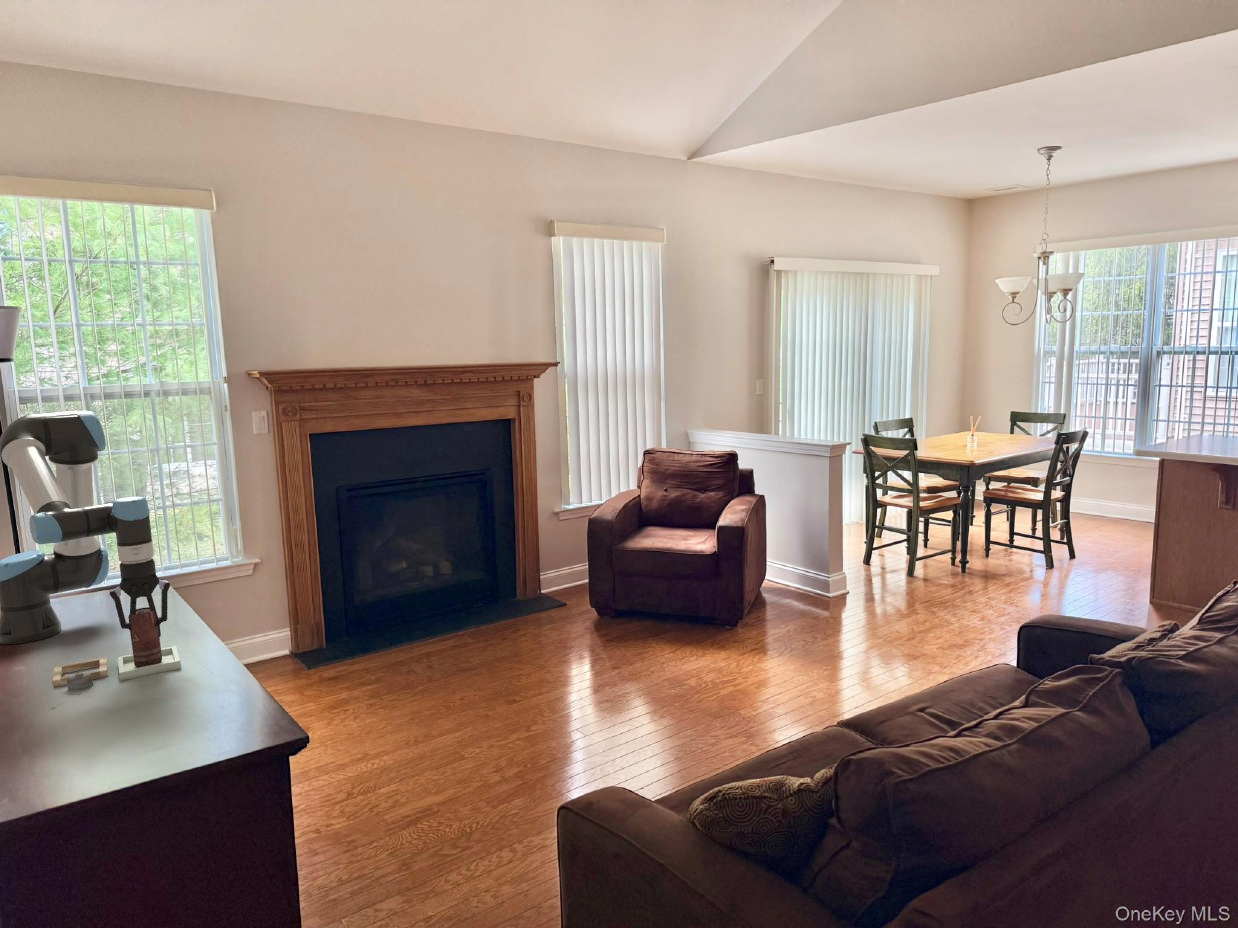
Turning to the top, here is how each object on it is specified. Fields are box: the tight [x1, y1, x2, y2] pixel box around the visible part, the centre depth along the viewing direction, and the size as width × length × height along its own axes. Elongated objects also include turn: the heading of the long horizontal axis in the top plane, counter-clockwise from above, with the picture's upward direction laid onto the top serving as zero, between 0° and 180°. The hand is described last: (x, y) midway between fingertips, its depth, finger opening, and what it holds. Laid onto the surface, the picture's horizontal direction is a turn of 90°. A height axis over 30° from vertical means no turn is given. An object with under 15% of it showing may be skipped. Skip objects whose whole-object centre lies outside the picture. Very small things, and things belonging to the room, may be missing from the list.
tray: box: [117, 645, 182, 681], centre depth 210 cm, size 13×13×2 cm
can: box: [127, 606, 162, 668], centre depth 209 cm, size 6×6×14 cm
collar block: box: [52, 656, 109, 692], centre depth 203 cm, size 18×11×3 cm, turn 32°
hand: (147, 651), depth 209 cm, fingers open, 3 cm apart
